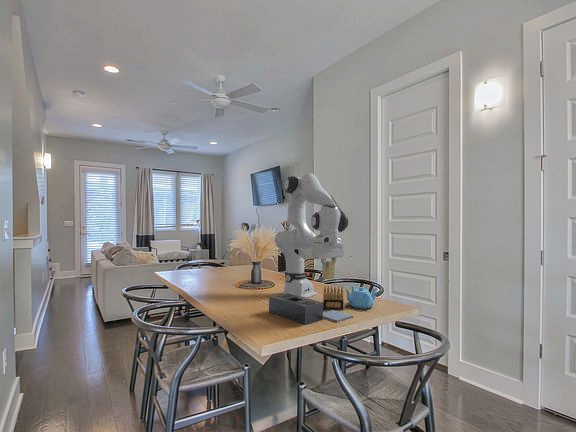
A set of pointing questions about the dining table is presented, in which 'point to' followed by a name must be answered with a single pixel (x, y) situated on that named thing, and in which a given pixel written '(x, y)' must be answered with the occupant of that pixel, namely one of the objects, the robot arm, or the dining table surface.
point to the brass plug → (328, 270)
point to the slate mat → (336, 316)
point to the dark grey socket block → (296, 308)
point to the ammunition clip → (333, 299)
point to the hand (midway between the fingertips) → (328, 267)
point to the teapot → (361, 297)
